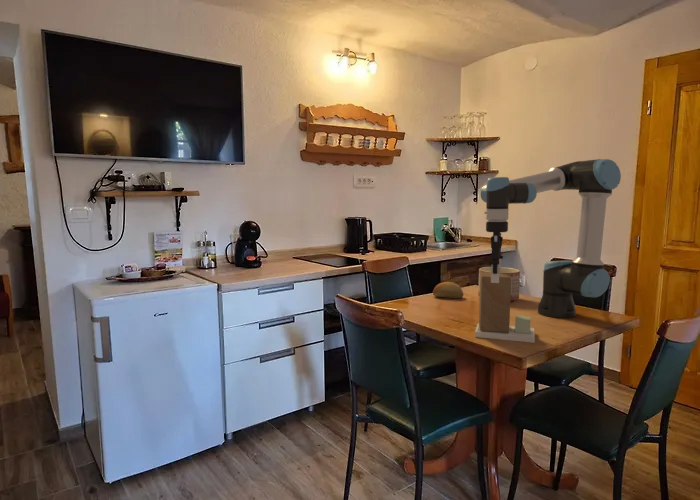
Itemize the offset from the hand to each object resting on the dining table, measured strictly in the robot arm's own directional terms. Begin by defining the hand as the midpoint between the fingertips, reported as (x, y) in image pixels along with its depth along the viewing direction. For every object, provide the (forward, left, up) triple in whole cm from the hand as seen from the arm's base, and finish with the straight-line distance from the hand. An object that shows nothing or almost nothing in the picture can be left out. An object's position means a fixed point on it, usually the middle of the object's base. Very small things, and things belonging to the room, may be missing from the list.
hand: (495, 279), depth 168 cm
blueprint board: (-4, 0, -20) cm, 21 cm away
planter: (+1, -63, -21) cm, 66 cm away
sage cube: (-10, 0, -18) cm, 21 cm away
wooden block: (0, 0, -18) cm, 18 cm away
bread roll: (+25, -58, -21) cm, 67 cm away
